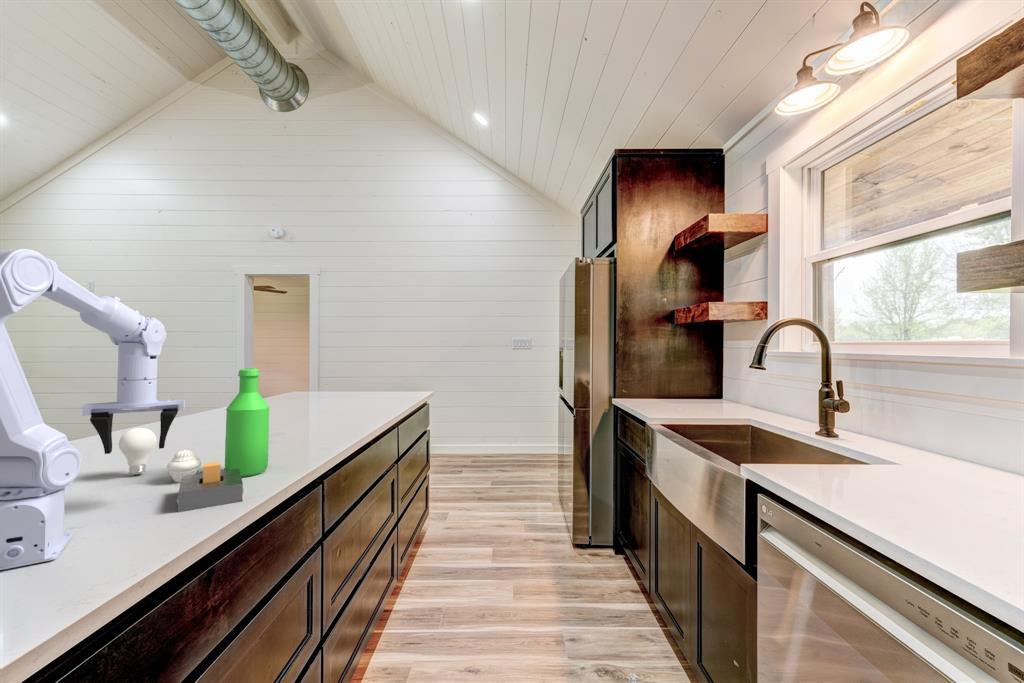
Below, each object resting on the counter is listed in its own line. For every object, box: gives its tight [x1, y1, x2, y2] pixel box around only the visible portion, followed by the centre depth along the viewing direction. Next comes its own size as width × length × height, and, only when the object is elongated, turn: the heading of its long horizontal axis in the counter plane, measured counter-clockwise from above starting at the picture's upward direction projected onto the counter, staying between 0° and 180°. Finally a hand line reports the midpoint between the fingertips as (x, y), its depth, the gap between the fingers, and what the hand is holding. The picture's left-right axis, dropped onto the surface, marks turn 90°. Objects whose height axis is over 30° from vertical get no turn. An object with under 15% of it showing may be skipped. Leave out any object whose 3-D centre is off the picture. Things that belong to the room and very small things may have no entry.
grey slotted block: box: [176, 469, 244, 513], centre depth 87 cm, size 17×11×4 cm, turn 36°
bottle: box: [224, 368, 270, 478], centre depth 102 cm, size 9×9×25 cm
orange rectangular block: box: [202, 461, 221, 483], centre depth 85 cm, size 3×3×6 cm
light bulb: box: [118, 427, 157, 476], centre depth 98 cm, size 7×7×11 cm
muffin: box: [166, 448, 202, 483], centre depth 95 cm, size 6×6×7 cm
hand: (135, 450), depth 81 cm, fingers open, 7 cm apart
